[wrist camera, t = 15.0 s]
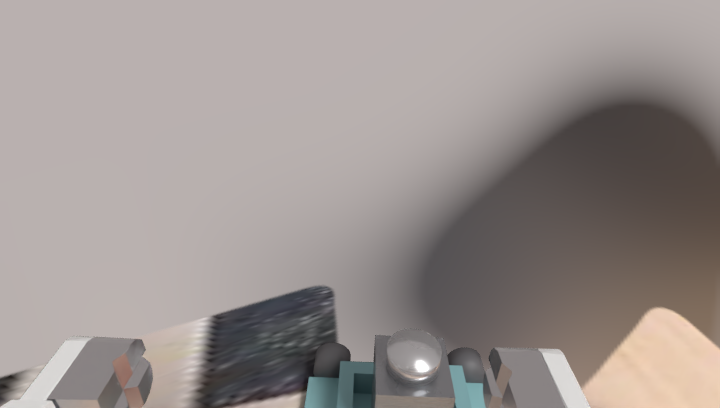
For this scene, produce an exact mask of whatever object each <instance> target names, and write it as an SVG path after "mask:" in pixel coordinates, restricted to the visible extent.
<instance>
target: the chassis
mask: <svg viewBox="0 0 720 408" xmlns="http://www.w3.org/2000/svg"><path fill="white" fill-rule="evenodd" d="M447 357H448V362H449V367H450V372H451V378H452V383H453V388H454V393H455V403H454V408H486V407H485V403H484V397H483V379H484V374H485V371H484V367H483V364H482V360H481V357H480V354H479V353H478V352H477V351H476V350H474V349H471V348H458V349H455V350H453V351H451V352H450V353H449V354H448V355H447ZM373 365H374V362H351V361H350V351H349V350H348V349H347V348H346V347H345V346H343V345H341V344H339V343H326V344H323V345H322V346H320V347H319V348H318V349H317V351H316V357H315V364H314V371H313V373H314V376H315V377H309V381H308V387H307V394H306V400H305V407H304V408H371V397H372V381H373Z"/></svg>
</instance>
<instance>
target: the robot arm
mask: <svg viewBox="0 0 720 408" xmlns="http://www.w3.org/2000/svg"><path fill="white" fill-rule="evenodd" d="M145 350H146V349H145V347H144V344H143V342H142V340H140V339H127V338H125V339H124V338H106V337H84V336H72V337H70V338H69V339H67V340H66V341H65V342H64V343H63V344H62V345H61V347H60V348H59V349H58V351H57V352H56V353H55V354H54V356H53V357H52V358H51V359H50V361H49V362H48V363H47V365H46V366H45V367H44V368H43V370H42V371H41V372H40V374H39V375H38V376H37V377H36V379H35V380H34V381H33V383H32V384H31V385H30V386H29V388H28V389H27V390H26V392H25V393H24V394H23V395H22V397H21V398H20V399H19V400H11V401H9V402H8V403H6V404H4V405H3V406H1V407H0V408H140V407H142V406H143V405H144V404H145V401H146V399H147V397H148V395H149V393H150V389H151V384H152V380H153V378H152V368H151V364H150V362H148V361H147V360H146V359H145V358H143V357H142V355H143V354H144V352H145ZM489 361H490V365H491V367H490V368H489V369H488V370H486V371H485V374H484V379H483V397H484V403H485V407H486V408H591V407H590V405H589V403H588V401H587V399H586V397H585V395H584V393H583V391H582V389H581V387H580V386H579V384H578V382H577V380H576V378H575V376H574V374H573V372H572V370H571V368H570V366H569V364H568V362H567V360H566V358H565V356H564V354H563V353H562V352H561V351H560V350H559V349H535V348H493V349H492V350H491V352H490V356H489Z"/></svg>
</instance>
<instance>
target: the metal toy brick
mask: <svg viewBox="0 0 720 408" xmlns="http://www.w3.org/2000/svg"><path fill="white" fill-rule="evenodd" d="M454 403H455V393H454V388H453V383H452V378H451V372H450V367H449V362H448V357H447V353H446V347H445V342H444V338H434V337H433V336H432V335H430V334H429V333H427V332H425V331H422V330H419V329H403V330H400V331H398V332H396V333H394V334H393V335H392V336H381V335H375V348H374V365H373V381H372V397H371V408H454Z"/></svg>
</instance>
